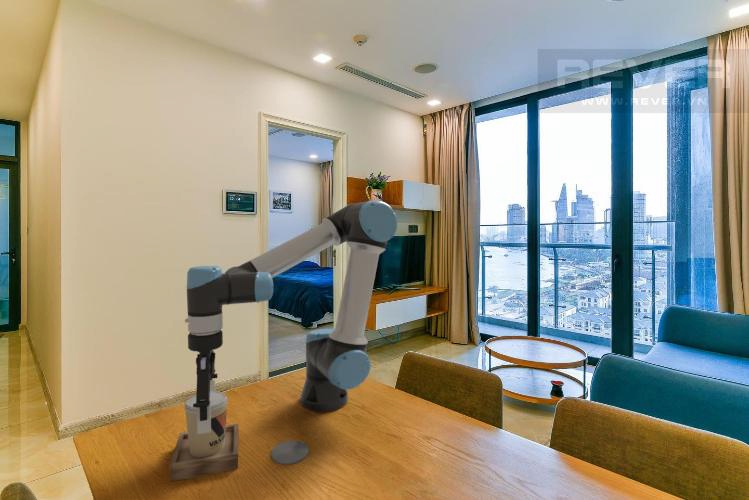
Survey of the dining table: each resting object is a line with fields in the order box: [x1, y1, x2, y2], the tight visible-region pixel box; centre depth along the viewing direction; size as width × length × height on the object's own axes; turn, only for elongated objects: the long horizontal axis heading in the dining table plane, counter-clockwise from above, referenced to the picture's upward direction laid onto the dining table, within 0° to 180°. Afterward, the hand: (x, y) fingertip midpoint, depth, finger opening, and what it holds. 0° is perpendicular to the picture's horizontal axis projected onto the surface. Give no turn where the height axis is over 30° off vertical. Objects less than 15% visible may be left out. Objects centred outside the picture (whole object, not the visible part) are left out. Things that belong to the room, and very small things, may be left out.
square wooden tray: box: [168, 423, 240, 483], centre depth 89 cm, size 14×14×4 cm
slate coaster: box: [270, 440, 309, 466], centre depth 91 cm, size 9×9×1 cm
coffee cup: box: [184, 390, 229, 457], centre depth 89 cm, size 9×9×12 cm
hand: (207, 418), depth 89 cm, fingers open, 13 cm apart
